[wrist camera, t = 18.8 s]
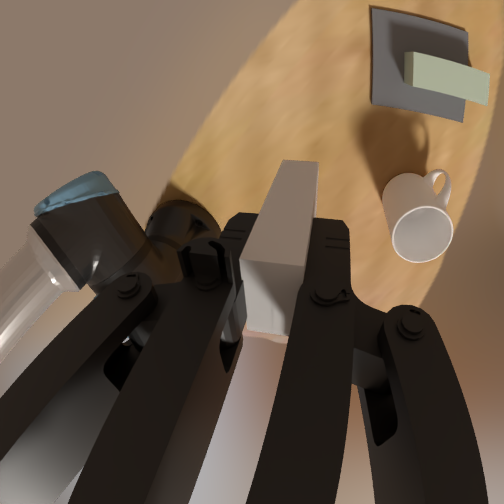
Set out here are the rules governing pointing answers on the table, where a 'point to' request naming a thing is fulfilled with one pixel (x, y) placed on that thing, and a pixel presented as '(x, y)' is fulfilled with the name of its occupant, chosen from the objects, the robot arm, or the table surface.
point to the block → (446, 77)
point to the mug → (418, 216)
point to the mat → (421, 41)
